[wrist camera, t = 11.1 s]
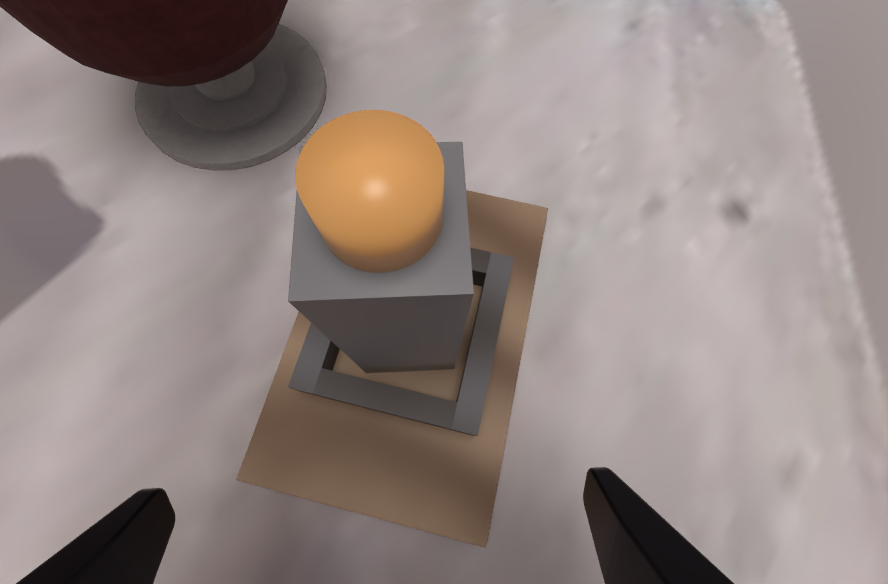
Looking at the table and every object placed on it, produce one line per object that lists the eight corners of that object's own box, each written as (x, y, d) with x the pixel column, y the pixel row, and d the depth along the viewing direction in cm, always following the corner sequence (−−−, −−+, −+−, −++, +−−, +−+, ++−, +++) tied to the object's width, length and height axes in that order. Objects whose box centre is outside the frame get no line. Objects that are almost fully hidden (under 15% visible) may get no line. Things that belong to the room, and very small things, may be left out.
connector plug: (454, 369, 22) (481, 261, 8) (366, 373, 22) (254, 270, 8) (449, 286, 23) (466, 85, 10) (367, 290, 23) (273, 90, 10)
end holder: (483, 542, 20) (491, 560, 17) (245, 478, 21) (215, 484, 18) (544, 216, 26) (557, 189, 23) (356, 175, 27) (346, 143, 24)
